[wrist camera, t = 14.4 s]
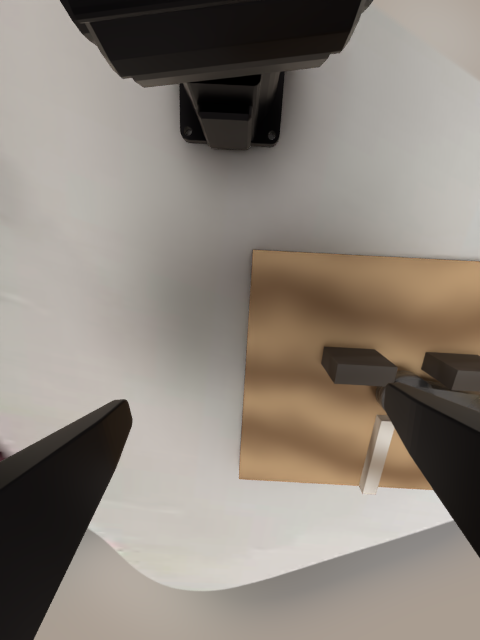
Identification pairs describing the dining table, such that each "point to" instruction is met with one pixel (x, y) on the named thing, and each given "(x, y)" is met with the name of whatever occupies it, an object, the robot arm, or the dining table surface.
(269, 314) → the lock plate
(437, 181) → the dining table surface
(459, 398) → the two-tone long knobbed bar
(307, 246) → the dining table surface
